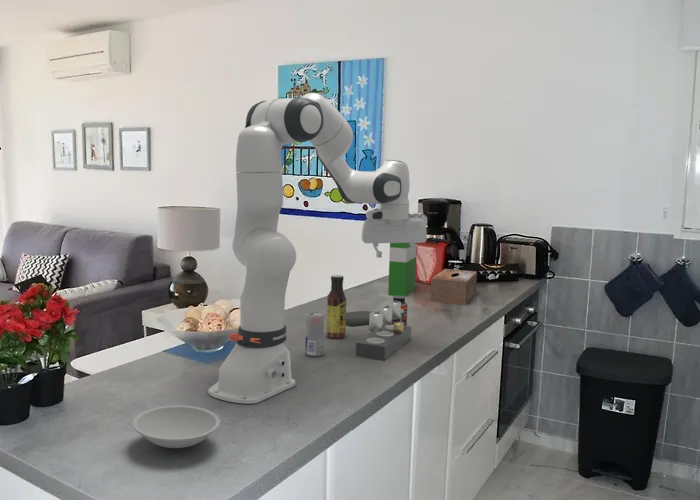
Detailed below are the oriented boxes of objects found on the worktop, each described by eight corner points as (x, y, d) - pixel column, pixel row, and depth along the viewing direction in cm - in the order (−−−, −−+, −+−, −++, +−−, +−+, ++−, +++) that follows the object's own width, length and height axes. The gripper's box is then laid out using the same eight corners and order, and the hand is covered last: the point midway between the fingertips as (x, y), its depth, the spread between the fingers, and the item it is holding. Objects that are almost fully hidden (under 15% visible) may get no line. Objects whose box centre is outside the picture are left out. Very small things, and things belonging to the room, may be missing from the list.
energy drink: (315, 349, 173) (315, 310, 172) (327, 354, 170) (328, 314, 168) (301, 353, 170) (302, 313, 168) (313, 357, 166) (314, 317, 164)
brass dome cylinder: (401, 334, 178) (401, 324, 177) (392, 332, 179) (392, 323, 178) (404, 331, 180) (405, 322, 180) (395, 330, 182) (395, 321, 181)
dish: (114, 451, 110) (113, 426, 109) (168, 421, 123) (167, 399, 122) (187, 473, 103) (187, 447, 102) (236, 440, 115) (236, 416, 115)
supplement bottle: (405, 331, 195) (406, 299, 193) (388, 330, 196) (389, 297, 194) (407, 327, 200) (408, 295, 199) (390, 325, 201) (391, 294, 200)
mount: (384, 360, 165) (385, 346, 164) (355, 355, 169) (356, 341, 168) (410, 338, 187) (411, 326, 186) (384, 334, 190) (385, 322, 190)
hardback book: (399, 287, 266) (401, 236, 263) (414, 289, 264) (417, 237, 260) (388, 295, 250) (390, 240, 246) (404, 297, 247) (406, 241, 244)
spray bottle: (334, 321, 207) (389, 314, 221) (350, 328, 198) (406, 320, 212) (334, 313, 207) (389, 306, 220) (350, 320, 198) (407, 313, 211)
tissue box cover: (465, 305, 235) (466, 281, 234) (430, 302, 240) (431, 278, 239) (475, 293, 259) (477, 271, 257) (443, 290, 264) (445, 268, 263)
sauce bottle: (343, 339, 184) (344, 278, 181) (324, 338, 185) (325, 277, 182) (347, 334, 190) (348, 274, 187) (329, 332, 191) (330, 273, 189)
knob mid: (389, 326, 174) (389, 309, 173) (376, 324, 176) (377, 307, 175) (393, 323, 178) (394, 306, 177) (381, 321, 179) (382, 304, 179)
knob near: (379, 332, 167) (380, 315, 166) (366, 330, 168) (367, 313, 168) (384, 329, 170) (385, 312, 170) (372, 327, 172) (372, 310, 171)
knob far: (398, 320, 181) (398, 303, 181) (386, 318, 183) (386, 302, 182) (402, 317, 185) (402, 301, 184) (390, 315, 187) (390, 299, 186)
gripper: (425, 212, 183) (424, 255, 185) (361, 212, 181) (360, 255, 183) (429, 213, 177) (428, 258, 179) (363, 214, 175) (363, 259, 177)
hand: (393, 257), depth 181 cm, fingers open, 8 cm apart
